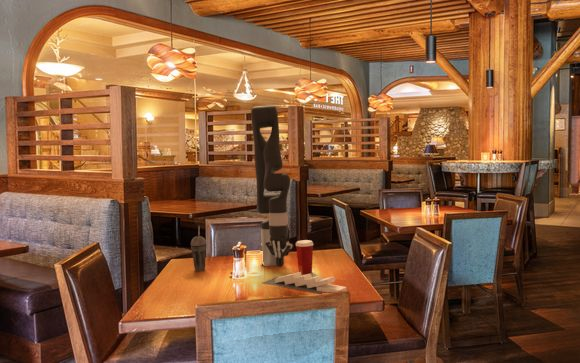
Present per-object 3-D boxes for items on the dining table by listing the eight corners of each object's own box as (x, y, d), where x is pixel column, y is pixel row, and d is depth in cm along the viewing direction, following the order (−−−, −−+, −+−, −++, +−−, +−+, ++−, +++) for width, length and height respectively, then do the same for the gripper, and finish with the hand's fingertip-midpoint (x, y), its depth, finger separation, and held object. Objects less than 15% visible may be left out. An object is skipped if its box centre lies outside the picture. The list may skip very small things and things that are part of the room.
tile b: (284, 281, 201) (303, 276, 195) (291, 278, 205) (310, 273, 199) (285, 285, 201) (304, 280, 195) (292, 281, 205) (312, 277, 199)
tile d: (306, 284, 194) (327, 279, 188) (313, 281, 198) (334, 276, 192) (307, 288, 194) (328, 283, 188) (315, 285, 198) (335, 280, 192)
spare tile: (303, 283, 202) (323, 279, 195) (295, 286, 198) (315, 282, 192) (302, 279, 202) (321, 274, 196) (294, 282, 198) (314, 278, 192)
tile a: (274, 279, 204) (293, 274, 198) (282, 276, 208) (300, 271, 202) (275, 283, 204) (294, 278, 198) (283, 280, 208) (301, 275, 202)
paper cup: (317, 272, 221) (316, 240, 219) (310, 276, 214) (309, 243, 212) (300, 271, 224) (299, 239, 223) (293, 275, 217) (292, 242, 216)
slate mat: (261, 284, 205) (261, 282, 205) (276, 278, 213) (276, 277, 213) (319, 295, 188) (319, 293, 188) (333, 288, 196) (333, 286, 196)
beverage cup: (188, 271, 230) (186, 227, 229) (197, 267, 237) (195, 224, 235) (202, 272, 228) (200, 228, 226) (211, 268, 234) (208, 225, 233)
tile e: (316, 286, 191) (339, 290, 185) (323, 283, 195) (346, 286, 189) (316, 290, 192) (339, 294, 186) (324, 287, 196) (346, 291, 189)
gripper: (259, 223, 204) (261, 266, 206) (285, 226, 196) (287, 270, 198) (271, 221, 210) (273, 262, 212) (297, 223, 202) (298, 266, 204)
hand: (280, 266), depth 205 cm, fingers closed
